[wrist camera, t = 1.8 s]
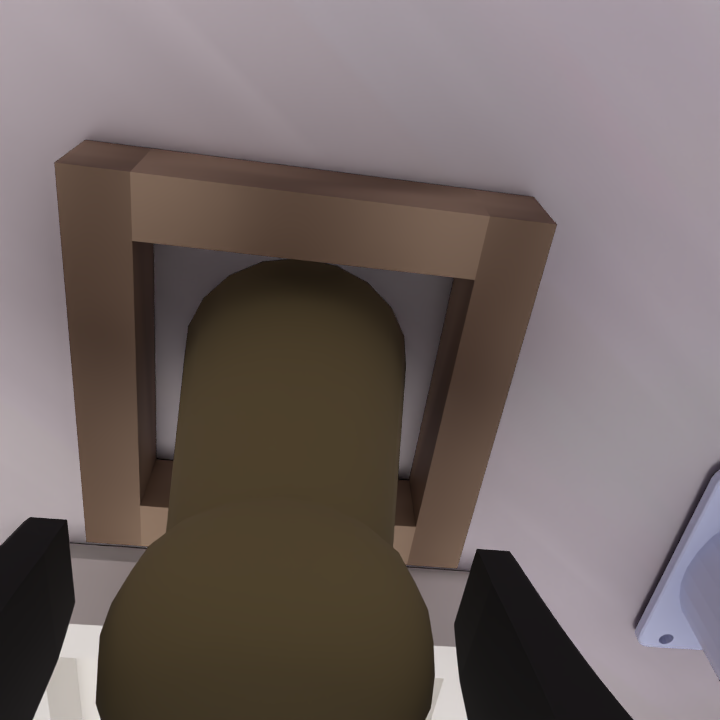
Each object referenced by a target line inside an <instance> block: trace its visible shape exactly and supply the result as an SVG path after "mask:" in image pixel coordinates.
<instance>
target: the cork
mask: <svg viewBox="0 0 720 720" xmlns="http://www.w3.org/2000/svg"><path fill="white" fill-rule="evenodd" d="M405 371H406V361H405V344H404V335H403V333H402V331H401V329H400V326H399V324H398V322H397V320H396V317H395V315H394V313H393V311H392V308H391V307H390V306H389V305H388V304H387V303H386V302H385V301H384V300H383V298H382V297H381V296H380V295H379V294H378V293H377V292H376V291H375V290H374V289H373V288H372V287H371V286H370V285H369V284H368V283H367V282H365V281H363V280H361V279H360V278H358V277H356V276H354V275H352V274H350V273H348V272H347V271H345V270H343V269H341V268H339V267H337V266H335V265H330V264H325V263H320V262H313V261H305V260H296V259H287V260H276V261H266V262H261V263H258V264H256V265H253V266H251V267H249V268H246V269H244V270H241V271H239V272H237V273H234V274H232V275H230V276H228V277H227V278H226V279H225V280H224V281H222V282H221V283H220V284H219V285H218V286H217V287H216V288H214V289H213V290H212V291H211V292H210V293H209V294H208V295H207V296H205V297H204V298H203V300H202V302H201V304H200V306H199V307H198V309H197V311H196V313H195V315H194V317H193V319H192V320H191V322H190V324H189V326H188V333H187V341H186V349H185V358H184V367H183V376H182V386H181V395H180V404H179V414H178V423H177V433H176V442H175V451H174V461H173V470H172V480H171V489H170V498H169V508H168V517H167V526H166V533H165V534H164V535H162V536H161V537H160V538H158V539H157V540H156V541H154V542H153V543H152V544H150V545H149V546H148V548H147V549H146V551H145V552H144V553H143V555H142V556H141V558H140V559H139V560H138V562H137V563H136V565H135V566H134V567H133V569H132V570H131V572H130V573H129V575H128V577H127V578H126V580H125V582H124V583H123V585H122V586H121V588H120V590H119V591H118V593H117V595H116V596H115V598H114V600H113V601H112V603H111V605H110V608H109V611H108V614H107V616H106V619H105V622H104V625H103V627H102V630H101V633H100V637H99V652H98V667H97V685H96V703H95V704H96V707H97V710H98V713H99V716H100V719H101V720H426V718H427V715H428V713H429V711H430V709H431V704H432V696H433V688H434V680H435V663H434V641H433V635H432V629H431V623H430V617H429V611H428V608H427V606H426V604H425V602H424V600H423V598H422V596H421V593H420V591H419V589H418V587H417V585H416V583H415V581H414V579H413V577H412V576H411V574H410V572H409V570H408V568H407V566H406V565H405V563H404V561H403V559H402V557H401V556H400V554H399V552H398V551H397V550H396V549H394V548H393V541H394V527H395V513H396V499H397V485H398V471H399V456H400V442H401V428H402V414H403V400H404V386H405Z"/></svg>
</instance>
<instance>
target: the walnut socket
mask: <svg viewBox="0 0 720 720" xmlns="http://www.w3.org/2000/svg"><path fill="white" fill-rule="evenodd" d="M54 163H55V175H56V187H57V199H58V210H59V222H60V234H61V246H62V258H63V270H64V282H65V293H66V305H67V317H68V329H69V341H70V353H71V364H72V376H73V388H74V400H75V412H76V424H77V435H78V447H79V459H80V471H81V483H82V495H83V507H84V518H85V530H86V542H93V543H107V544H121V545H135V546H149V545H150V544H152V543H153V542H154V541H156V540H157V539H158V538H160V537H161V536H162V535H164V534H165V533H166V526H167V517H168V508H169V498H170V489H171V480H172V470H173V461H170V460H158V459H156V395H155V324H154V253H153V243H155V244H164V245H173V246H182V247H190V248H199V249H208V250H217V251H226V252H234V253H243V254H252V255H261V256H269V257H278V258H287V259H296V260H305V261H313V262H322V263H331V264H340V265H348V266H357V267H366V268H375V269H384V270H392V271H401V272H410V273H419V274H427V275H436V276H445V277H454V280H453V285H452V289H451V294H450V298H449V303H448V307H447V312H446V316H445V321H444V325H443V330H442V334H441V339H440V343H439V348H438V352H437V357H436V362H435V366H434V371H433V375H432V380H431V384H430V389H429V393H428V398H427V402H426V407H425V411H424V416H423V420H422V425H421V429H420V434H419V438H418V443H417V447H416V452H415V456H414V461H413V465H412V470H411V474H410V479H409V480H398V485H397V499H396V513H395V527H394V541H393V548H394V549H396V550H397V551H398V552H399V554H400V556H401V557H402V559H403V561H404V563H405V565H415V566H429V567H443V568H457V567H458V564H459V560H460V557H461V553H462V550H463V546H464V543H465V539H466V536H467V533H468V529H469V526H470V522H471V519H472V515H473V512H474V508H475V505H476V502H477V498H478V495H479V491H480V488H481V484H482V481H483V477H484V474H485V471H486V467H487V464H488V460H489V457H490V453H491V450H492V446H493V443H494V440H495V436H496V433H497V429H498V426H499V422H500V419H501V415H502V412H503V409H504V405H505V402H506V398H507V395H508V391H509V388H510V384H511V381H512V378H513V374H514V371H515V367H516V364H517V360H518V357H519V353H520V350H521V347H522V343H523V340H524V336H525V333H526V329H527V326H528V322H529V319H530V316H531V312H532V309H533V305H534V302H535V298H536V295H537V291H538V288H539V285H540V281H541V278H542V274H543V271H544V267H545V264H546V260H547V257H548V253H549V250H550V247H551V243H552V240H553V236H554V233H555V229H556V226H557V224H556V223H555V222H554V221H553V219H552V218H551V217H550V216H549V215H548V213H547V212H546V211H545V210H544V209H543V207H542V206H541V205H540V204H539V203H538V202H537V200H536V199H535V198H534V197H529V196H522V195H514V194H506V193H498V192H490V191H482V190H474V189H467V188H459V187H451V186H443V185H435V184H427V183H419V182H412V181H404V180H396V179H388V178H380V177H372V176H364V175H357V174H349V173H341V172H333V171H325V170H317V169H309V168H301V167H294V166H286V165H278V164H270V163H262V162H254V161H246V160H239V159H231V158H223V157H215V156H207V155H199V154H191V153H184V152H176V151H168V150H160V149H152V148H144V147H136V146H129V145H121V144H113V143H105V142H97V141H89V140H84V141H83V142H81V143H80V144H79V145H77V146H76V147H75V148H73V149H72V150H71V151H69V152H68V153H67V154H65V155H64V156H63V157H61V158H60V159H59V160H57V161H56V162H54Z"/></svg>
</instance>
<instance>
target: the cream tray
mask: <svg viewBox="0 0 720 720" xmlns="http://www.w3.org/2000/svg"><path fill="white" fill-rule="evenodd" d="M69 544H70V554H71V564H72V573H73V583H74V593H75V605H74V609H73V612H72V616H71V619H70V622H69V626H68V629H67V633H66V636H65V639H64V642H63V646H62V649H61V652H60V655H59V659H58V661H57V664H56V666H55V669H54V671H53V673H52V676H51V678H50V681H49V683H48V685H47V688H46V690H45V692H44V695H43V697H42V699H41V702H40V704H39V706H38V709H37V711H36V713H35V716H34V718H33V720H101V719H100V716H99V713H98V710H97V707H96V704H95V703H96V685H97V667H98V652H99V637H100V633H101V630H102V627H103V625H104V622H105V619H106V616H107V614H108V611H109V608H110V605H111V603H112V601H113V600H114V598H115V596H116V595H117V593H118V591H119V590H120V588H121V586H122V585H123V583H124V582H125V580H126V578H127V577H128V575H129V573H130V572H131V570H132V569H133V567H134V566H135V565H136V563H137V562H138V560H139V559H140V558H141V556H142V555H143V553H144V552H145V551H146V549H142V548H128V547H114V546H100V545H86V544H72V543H69ZM407 568H408V570H409V572H410V574H411V576H412V577H413V579H414V581H415V583H416V585H417V587H418V589H419V591H420V593H421V596H422V598H423V600H424V602H425V604H426V606H427V608H428V611H429V617H430V623H431V629H432V635H433V641H434V663H435V680H434V688H433V696H432V704H431V709H430V711H429V713H428V715H427V718H426V720H468V719H467V715H466V710H465V705H464V701H463V696H462V691H461V686H460V681H459V673H458V664H457V655H456V644H455V633H454V622H455V619H456V615H457V612H458V609H459V606H460V602H461V599H462V596H463V593H464V589H465V586H466V583H467V579H468V576H469V573H470V572H466V571H452V570H438V569H423V568H409V567H407Z"/></svg>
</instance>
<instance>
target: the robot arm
mask: <svg viewBox="0 0 720 720" xmlns="http://www.w3.org/2000/svg"><path fill="white" fill-rule="evenodd" d="M74 605H75V593H74V583H73V573H72V564H71V554H70V544H69V534H68V525H67V520H62V519H48V518H34V517H30V518H28V519H27V520H26V521H24V522H23V523H22V524H21V525H20V526H19V527H18V528H17V529H16V530H15V531H14V532H13V533H12V534H11V536H10V537H9V538H8V539H7V540H6V541H5V542H4V543H3V544H2V545H1V546H0V720H33V718H34V716H35V713H36V711H37V709H38V706H39V704H40V702H41V699H42V697H43V695H44V692H45V690H46V688H47V685H48V683H49V681H50V678H51V676H52V673H53V671H54V669H55V666H56V664H57V661H58V659H59V655H60V652H61V649H62V646H63V642H64V639H65V636H66V633H67V629H68V626H69V622H70V619H71V616H72V612H73V609H74ZM454 633H455V644H456V655H457V664H458V673H459V681H460V686H461V691H462V696H463V701H464V705H465V710H466V715H467V719H468V720H633V719H632V718H631V716H630V715H629V714H628V713H627V712H626V710H625V709H624V708H623V707H622V706H621V704H620V703H619V702H618V701H617V700H616V698H615V697H614V696H613V695H612V693H611V692H610V691H609V690H608V688H607V687H606V686H605V685H604V683H603V682H602V681H601V680H600V678H599V677H598V676H597V675H596V673H595V672H594V671H593V669H592V668H591V667H590V665H589V664H588V663H587V661H586V660H585V659H584V657H583V656H582V655H581V653H580V652H579V651H578V649H577V648H576V647H575V645H574V644H573V642H572V641H571V640H570V638H569V637H568V636H567V634H566V633H565V632H564V630H563V629H562V627H561V626H560V625H559V623H558V622H557V620H556V619H555V617H554V616H553V615H552V613H551V612H550V610H549V609H548V607H547V606H546V604H545V603H544V601H543V600H542V598H541V597H540V596H539V594H538V593H537V591H536V590H535V588H534V587H533V585H532V584H531V582H530V581H529V579H528V578H527V576H526V575H525V573H524V572H523V570H522V569H521V567H520V566H519V564H518V562H517V561H516V560H515V558H514V557H513V555H512V554H511V553H510V551H498V550H484V549H477V550H476V553H475V557H474V560H473V563H472V566H471V570H470V573H469V576H468V579H467V583H466V586H465V589H464V593H463V596H462V599H461V602H460V606H459V609H458V612H457V615H456V619H455V622H454ZM635 634H636V637H637V639H638V641H639V643H640V644H641V645H643V646H648V647H662V648H678V649H695V650H703V651H704V653H705V655H706V656H707V658H708V660H709V662H710V664H711V666H712V668H713V670H714V671H715V673H716V675H717V677H718V679H719V681H720V470H719V471H717V472H716V473H715V474H714V475H713V477H712V478H711V480H710V482H709V484H708V486H707V488H706V490H705V492H704V494H703V496H702V498H701V500H700V502H699V504H698V506H697V508H696V510H695V512H694V514H693V516H692V518H691V520H690V522H689V524H688V526H687V528H686V530H685V532H684V534H683V536H682V538H681V540H680V542H679V544H678V546H677V548H676V550H675V552H674V554H673V556H672V558H671V560H670V562H669V564H668V566H667V568H666V570H665V572H664V574H663V576H662V578H661V580H660V582H659V584H658V586H657V587H656V589H655V591H654V593H653V595H652V597H651V599H650V601H649V603H648V605H647V607H646V609H645V611H644V613H643V615H642V617H641V619H640V621H639V623H638V625H637V627H636V629H635Z"/></svg>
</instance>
